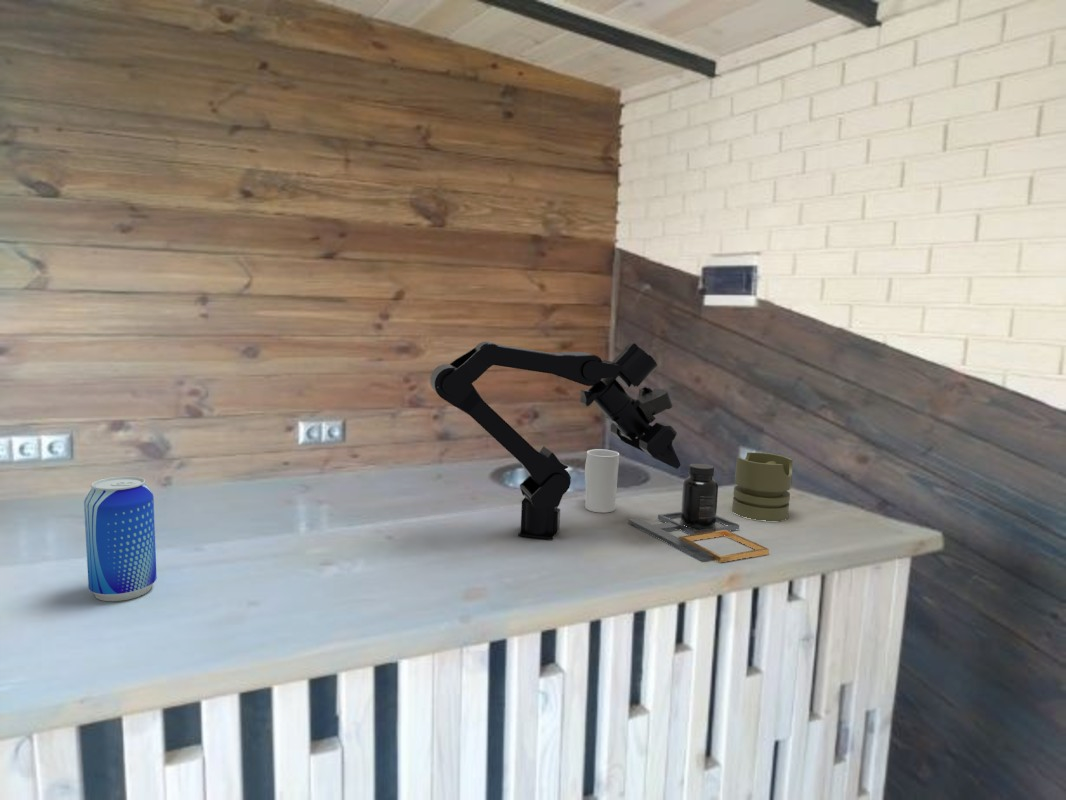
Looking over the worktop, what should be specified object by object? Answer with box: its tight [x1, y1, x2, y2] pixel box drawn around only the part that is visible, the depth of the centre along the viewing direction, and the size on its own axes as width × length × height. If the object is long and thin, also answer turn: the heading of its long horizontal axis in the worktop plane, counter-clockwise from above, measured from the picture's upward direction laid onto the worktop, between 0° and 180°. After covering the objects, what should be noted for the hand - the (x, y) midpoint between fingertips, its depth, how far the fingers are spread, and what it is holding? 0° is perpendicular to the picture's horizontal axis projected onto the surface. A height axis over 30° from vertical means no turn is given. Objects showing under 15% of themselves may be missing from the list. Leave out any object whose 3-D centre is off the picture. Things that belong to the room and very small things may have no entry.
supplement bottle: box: [680, 463, 719, 530], centre depth 142 cm, size 7×7×12 cm
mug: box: [584, 448, 620, 514], centre depth 152 cm, size 10×7×12 cm, turn 25°
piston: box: [731, 451, 794, 522], centre depth 151 cm, size 11×12×11 cm
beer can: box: [83, 475, 158, 602], centre depth 101 cm, size 8×8×16 cm
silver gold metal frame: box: [628, 511, 770, 564], centre depth 136 cm, size 18×24×1 cm
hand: (667, 461), depth 139 cm, fingers open, 9 cm apart
